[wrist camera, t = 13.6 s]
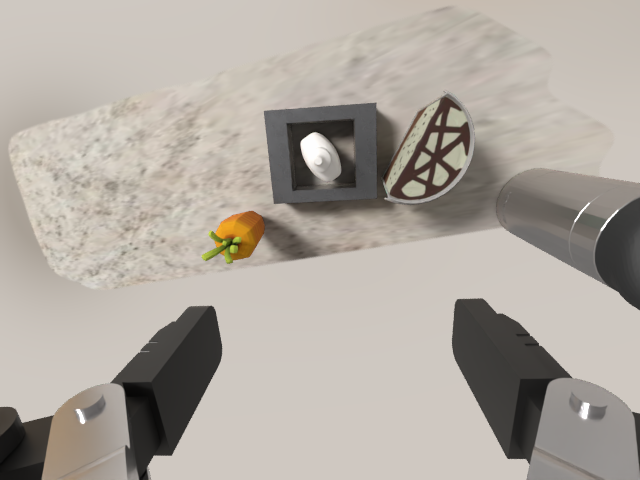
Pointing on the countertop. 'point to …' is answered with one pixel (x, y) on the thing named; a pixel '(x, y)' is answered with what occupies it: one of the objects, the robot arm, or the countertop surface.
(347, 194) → the grey square frame
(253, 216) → the carrot
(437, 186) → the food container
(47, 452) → the robot arm
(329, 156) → the eye dropper bottle
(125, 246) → the countertop surface
